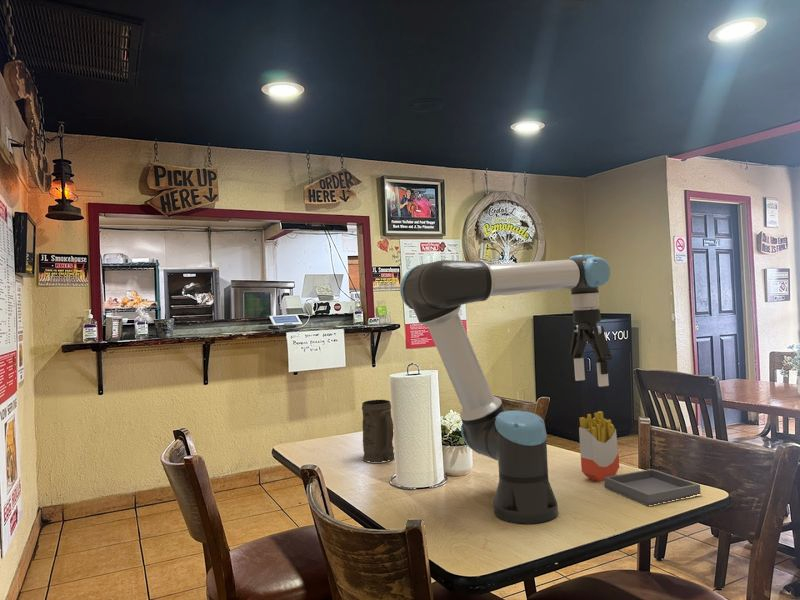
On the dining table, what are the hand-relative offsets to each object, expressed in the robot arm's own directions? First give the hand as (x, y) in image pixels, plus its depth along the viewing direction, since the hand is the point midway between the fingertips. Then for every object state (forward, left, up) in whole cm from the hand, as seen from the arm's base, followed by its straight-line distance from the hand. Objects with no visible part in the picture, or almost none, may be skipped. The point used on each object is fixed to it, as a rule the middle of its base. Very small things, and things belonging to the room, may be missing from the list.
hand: (591, 383), depth 162 cm
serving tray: (+7, -16, -26) cm, 32 cm away
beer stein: (-60, +34, -27) cm, 73 cm away
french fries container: (0, -2, -27) cm, 27 cm away
